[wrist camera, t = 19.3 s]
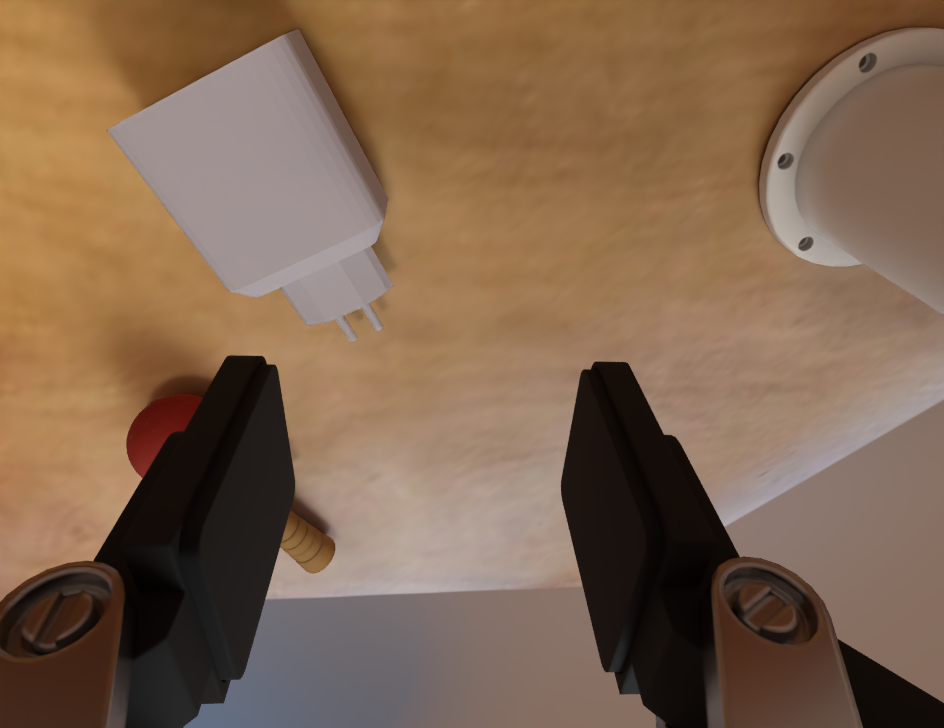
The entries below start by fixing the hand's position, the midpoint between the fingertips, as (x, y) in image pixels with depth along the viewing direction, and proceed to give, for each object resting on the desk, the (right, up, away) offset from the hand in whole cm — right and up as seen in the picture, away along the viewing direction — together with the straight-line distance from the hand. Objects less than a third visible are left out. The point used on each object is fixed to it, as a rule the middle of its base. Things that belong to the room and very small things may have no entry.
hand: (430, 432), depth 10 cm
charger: (-9, +10, +22) cm, 26 cm away
